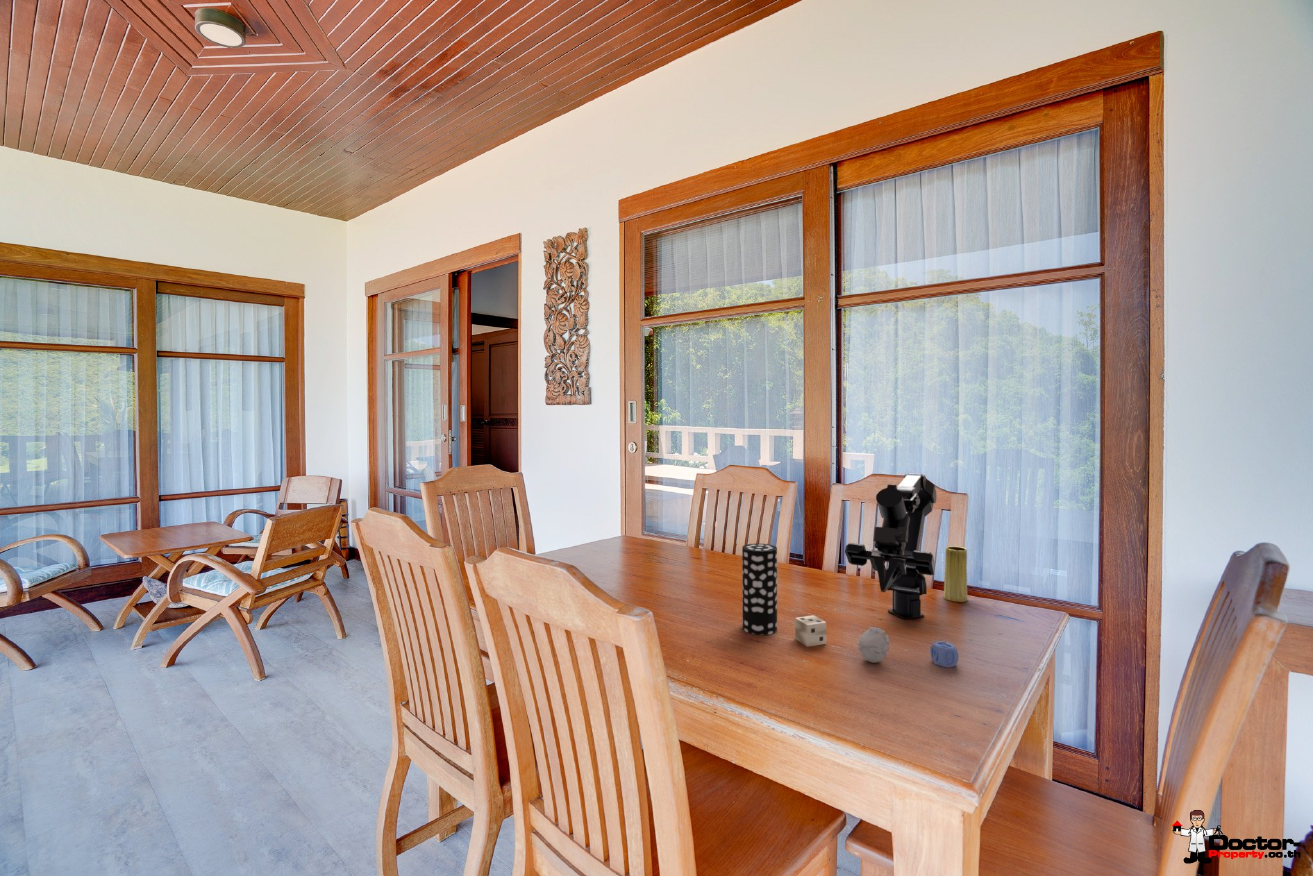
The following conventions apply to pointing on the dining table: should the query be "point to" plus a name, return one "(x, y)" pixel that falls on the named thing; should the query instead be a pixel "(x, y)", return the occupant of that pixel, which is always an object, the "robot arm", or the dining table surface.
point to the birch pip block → (810, 630)
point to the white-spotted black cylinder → (759, 588)
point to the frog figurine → (874, 644)
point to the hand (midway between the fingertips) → (882, 591)
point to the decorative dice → (944, 654)
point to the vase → (955, 574)
